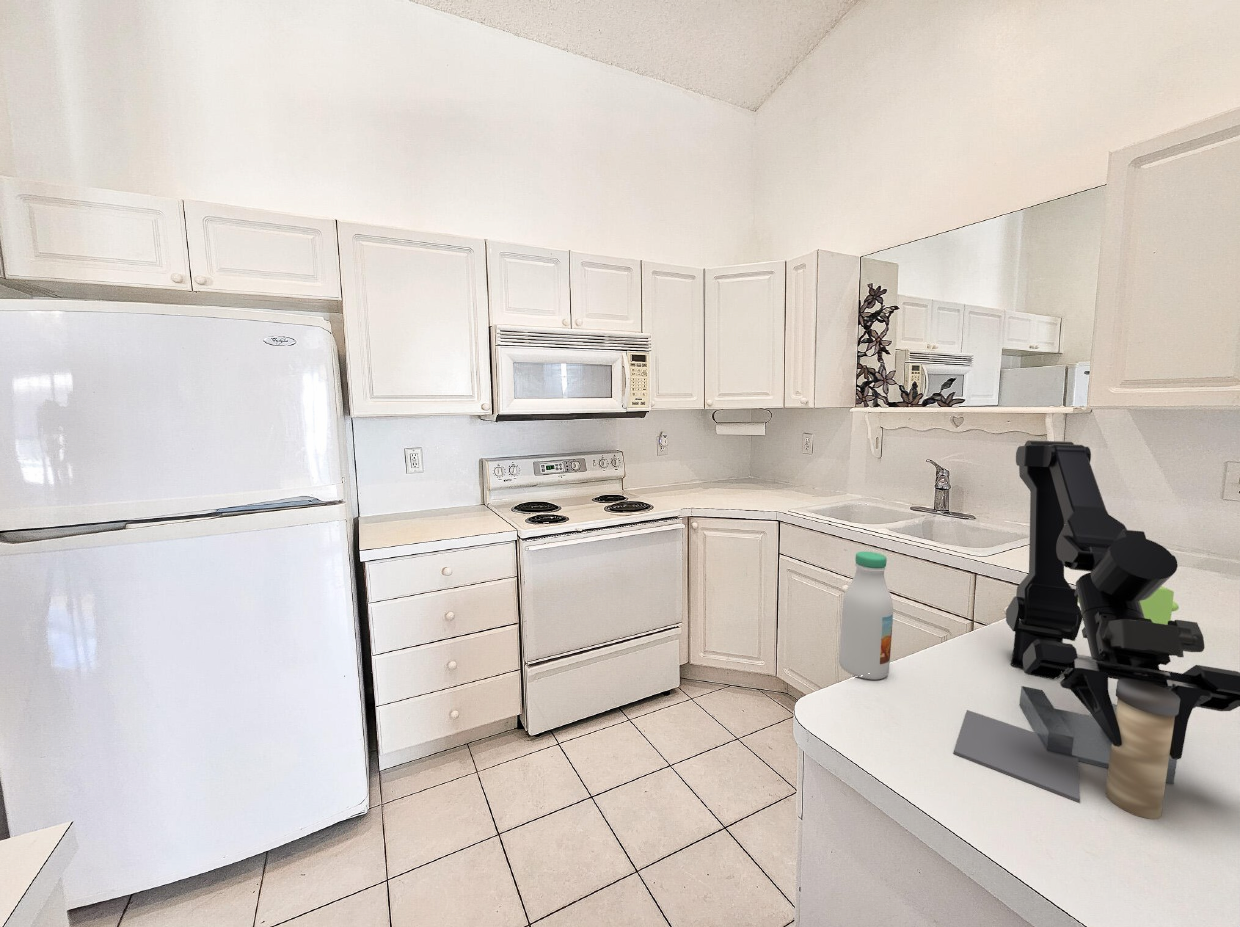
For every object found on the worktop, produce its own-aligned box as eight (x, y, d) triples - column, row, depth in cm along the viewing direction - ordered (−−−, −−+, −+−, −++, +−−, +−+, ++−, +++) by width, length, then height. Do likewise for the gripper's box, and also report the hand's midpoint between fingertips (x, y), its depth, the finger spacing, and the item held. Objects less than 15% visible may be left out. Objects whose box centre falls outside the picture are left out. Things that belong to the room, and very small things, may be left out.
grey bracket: (1019, 704, 76) (1021, 685, 75) (1125, 726, 71) (1127, 706, 70) (1046, 753, 65) (1048, 731, 65) (1173, 783, 60) (1176, 760, 60)
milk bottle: (865, 685, 81) (874, 563, 78) (828, 662, 88) (835, 550, 85) (899, 675, 84) (908, 558, 81) (860, 654, 91) (868, 546, 89)
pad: (953, 753, 65) (953, 750, 65) (966, 712, 74) (966, 709, 74) (1079, 802, 57) (1079, 799, 57) (1077, 749, 66) (1077, 746, 66)
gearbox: (1159, 622, 108) (1165, 579, 108) (1197, 640, 99) (1203, 592, 98) (1059, 610, 113) (1064, 568, 113) (1086, 626, 104) (1091, 581, 103)
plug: (1104, 804, 57) (1119, 690, 55) (1101, 780, 60) (1115, 673, 59) (1166, 827, 53) (1184, 708, 52) (1160, 801, 57) (1176, 689, 56)
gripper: (1039, 575, 62) (1062, 707, 53) (1258, 602, 54) (1328, 762, 45) (1014, 614, 70) (1031, 734, 61) (1202, 642, 62) (1252, 785, 53)
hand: (1146, 752), depth 55 cm, fingers closed on plug, 4 cm apart
